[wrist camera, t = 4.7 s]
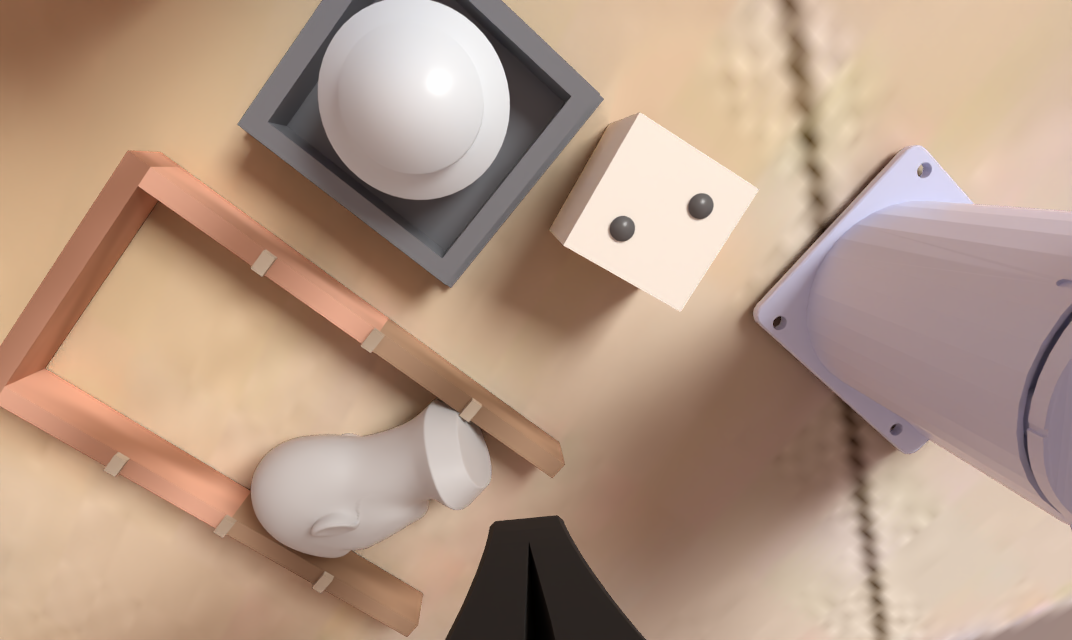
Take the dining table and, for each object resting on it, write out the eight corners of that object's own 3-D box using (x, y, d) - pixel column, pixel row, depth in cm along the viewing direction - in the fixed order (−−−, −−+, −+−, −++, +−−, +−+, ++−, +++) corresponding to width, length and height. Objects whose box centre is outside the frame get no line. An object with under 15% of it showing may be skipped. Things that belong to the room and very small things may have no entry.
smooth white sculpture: (310, 503, 22) (253, 414, 19) (500, 463, 22) (471, 369, 19) (281, 606, 19) (206, 516, 16) (508, 559, 19) (473, 460, 16)
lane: (559, 442, 21) (565, 467, 19) (412, 604, 22) (406, 641, 21) (160, 151, 17) (123, 149, 15) (14, 371, 19) (-35, 393, 17)
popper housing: (601, 100, 18) (614, 92, 16) (451, 286, 19) (447, 298, 17) (401, -91, 16) (390, -122, 14) (249, 130, 17) (222, 125, 15)
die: (704, 185, 19) (760, 189, 15) (643, 283, 20) (681, 312, 16) (608, 124, 18) (640, 112, 14) (548, 229, 19) (563, 245, 15)
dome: (540, 101, 16) (550, 88, 14) (440, 229, 17) (431, 240, 15) (406, -23, 15) (388, -62, 13) (304, 121, 16) (268, 112, 13)
